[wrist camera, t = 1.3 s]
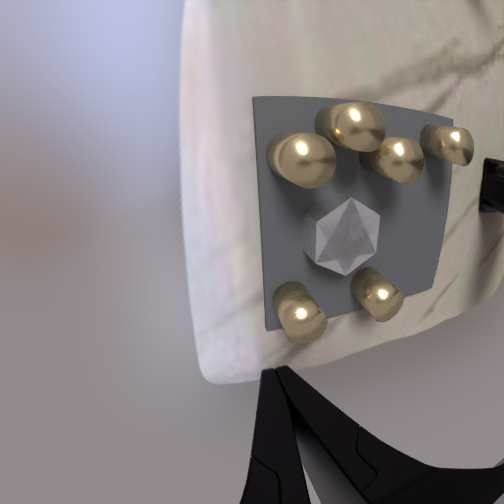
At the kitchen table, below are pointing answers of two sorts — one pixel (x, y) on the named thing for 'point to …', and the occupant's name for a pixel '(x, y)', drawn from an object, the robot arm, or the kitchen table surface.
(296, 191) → the mat
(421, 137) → the brass spacers
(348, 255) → the clear faceted crystal
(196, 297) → the kitchen table surface
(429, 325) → the kitchen table surface
